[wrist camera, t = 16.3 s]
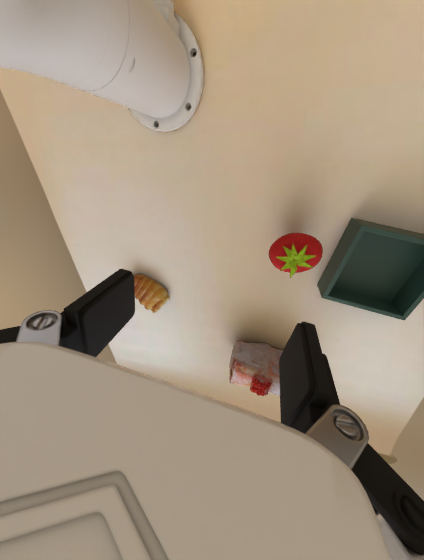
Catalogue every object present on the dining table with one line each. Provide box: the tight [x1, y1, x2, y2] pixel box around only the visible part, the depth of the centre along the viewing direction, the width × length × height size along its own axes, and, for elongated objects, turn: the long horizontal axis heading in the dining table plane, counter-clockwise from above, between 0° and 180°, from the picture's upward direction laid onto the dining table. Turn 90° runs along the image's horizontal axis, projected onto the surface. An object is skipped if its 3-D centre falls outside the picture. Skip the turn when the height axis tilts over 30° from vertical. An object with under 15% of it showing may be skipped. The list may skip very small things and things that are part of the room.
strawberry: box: [269, 233, 323, 278], centre depth 32 cm, size 6×8×10 cm
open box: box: [317, 218, 424, 320], centre depth 33 cm, size 12×13×4 cm
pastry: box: [134, 274, 170, 313], centre depth 47 cm, size 9×7×4 cm
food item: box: [229, 341, 283, 396], centre depth 46 cm, size 14×8×10 cm, turn 88°
